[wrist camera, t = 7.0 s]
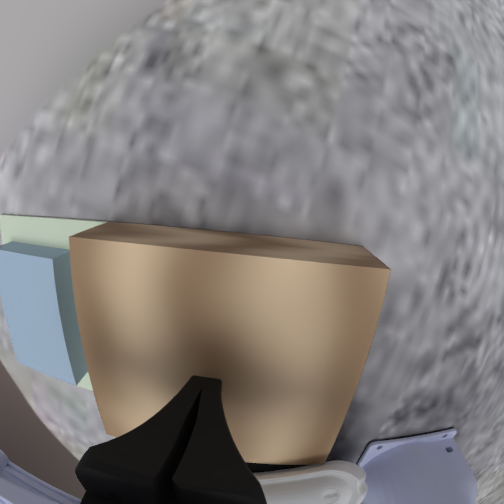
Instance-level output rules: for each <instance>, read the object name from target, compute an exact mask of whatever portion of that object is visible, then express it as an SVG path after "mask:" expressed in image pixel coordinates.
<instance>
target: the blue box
mask: <svg viewBox="0 0 504 504" xmlns="http://www.w3.org/2000/svg"><path fill="white" fill-rule="evenodd" d="M0 296H1V301H2V306H3V310H4V314H5V318H6V322H7V326H8V330H9V334H10V337H11V341H12V344H13V348H14V351H15V354H16V357H17V360H18V362H19V363H21V364H23V365H25V366H28V367H30V368H32V369H34V370H37V371H39V372H42V373H44V374H46V375H49V376H51V377H54V378H56V379H59V380H62V381H64V382H67V383H70V384H73V385H75V386H77V384H78V383H79V382H80V381H81V379H82V378H83V377H84V376H85V374H86V373H87V372H88V369H87V364H86V360H85V356H84V351H83V346H82V341H81V336H80V331H79V325H78V319H77V313H76V306H75V299H74V291H73V283H72V273H71V262H70V250H67V249H60V248H53V247H46V246H39V245H33V244H26V243H20V242H13V241H11V242H8V243H6V244H3V245H0Z"/></svg>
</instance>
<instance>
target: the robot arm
mask: <svg viewBox="0 0 504 504" xmlns="http://www.w3.org/2000/svg"><path fill="white" fill-rule="evenodd" d="M221 392H222V381H221V380H220V379H216V378H208V377H201V376H195V375H193V376H191V377H190V379H189V380H188V381H187V383H186V384H185V385H184V386H183V388H182V389H181V390H180V391H179V392H178V393H177V394H176V395H175V396H174V397H173V398H172V399H171V400H170V401H169V402H168V403H167V404H166V405H165V406H164V407H163V408H162V409H161V410H160V411H158V412H157V413H156V414H155V415H154V416H152V417H151V418H150V419H148V420H147V421H145V422H144V423H143V424H141V425H139V426H138V427H136V428H134V429H133V430H131V431H129V432H127V433H125V434H123V435H121V436H119V437H117V438H115V439H112V440H110V441H107V442H104V443H101V444H98V445H95V446H92V447H89V449H88V450H87V451H86V452H85V454H84V455H83V456H82V458H81V460H80V462H79V463H78V465H77V467H76V469H75V473H76V475H77V477H78V479H79V481H80V482H81V484H82V485H83V487H84V488H85V490H86V492H85V495H84V497H83V499H82V500H81V499H78V498H76V497H74V496H72V495H69V494H67V493H65V492H63V491H61V490H59V489H57V488H55V487H53V486H51V485H49V484H47V483H46V482H43V481H42V480H40V479H38V478H36V477H34V476H33V475H31V474H29V473H28V472H26V471H24V470H23V469H21V468H20V467H18V466H16V465H15V464H13V463H12V462H10V461H9V460H8V458H7V456H6V455H5V454H4V453H3V451H1V449H0V504H267V502H266V498H265V495H264V492H263V489H262V487H261V484H260V482H259V481H258V480H257V478H256V477H255V476H254V474H253V473H252V472H251V470H250V469H249V467H248V466H247V464H246V463H245V461H244V459H243V458H242V456H241V454H240V452H239V451H238V449H237V447H236V445H235V442H234V440H233V438H232V435H231V433H230V430H229V427H228V424H227V421H226V418H225V414H224V410H223V405H222V398H221ZM456 433H457V430H456V429H455V428H453V429H449V430H444V431H440V432H435V433H430V434H425V435H419V436H413V437H407V438H400V439H393V440H385V441H376V442H372V443H370V444H369V445H368V446H367V448H366V450H365V452H364V454H363V455H362V457H361V459H360V460H359V462H358V464H357V465H358V466H360V467H361V468H362V469H363V470H364V471H365V473H366V479H365V482H366V484H367V485H368V490H367V493H366V496H365V497H364V499H363V504H474V502H475V500H476V495H477V484H476V480H475V477H474V475H473V473H472V471H471V469H470V467H469V465H468V463H467V461H466V460H465V458H464V456H463V454H462V452H461V450H460V449H459V447H458V445H457V443H456V442H455V440H454V438H453V437H454V436H455V434H456Z"/></svg>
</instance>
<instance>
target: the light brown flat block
mask: <svg viewBox="0 0 504 504" xmlns="http://www.w3.org/2000/svg"><path fill="white" fill-rule="evenodd" d="M69 249H70V262H71V273H72V283H73V291H74V299H75V306H76V313H77V319H78V325H79V331H80V336H81V341H82V346H83V351H84V356H85V360H86V364H87V369H88V373H89V377H90V381H91V385H92V388H93V392H94V395H95V399H96V402H97V406H98V409H99V412H100V415H101V419H102V422H103V425H104V428H105V431H106V433H107V434H108V435H112V436H115V437H119V436H121V435H123V434H125V433H127V432H129V431H131V430H133V429H134V428H136V427H138V426H139V425H141V424H143V423H144V422H145V421H147V420H148V419H150V418H151V417H152V416H154V415H155V414H156V413H157V412H158V411H160V410H161V409H162V408H163V407H164V406H165V405H166V404H167V403H168V402H169V401H170V400H171V399H172V398H173V397H174V396H175V395H176V394H177V393H178V392H179V391H180V390H181V389H182V388H183V386H184V385H185V384H186V383H187V381H188V380H189V379H190V377H191V376H193V375H195V376H201V377H208V378H216V379H220V380H221V381H222V392H221V398H222V405H223V410H224V414H225V418H226V421H227V424H228V427H229V430H230V433H231V435H232V438H233V440H234V442H235V445H236V447H237V449H238V451H239V452H240V454H241V456H242V458H243V459H244V461H245V462H249V463H263V464H286V465H316V464H325V462H326V459H327V457H328V455H329V453H330V451H331V449H332V447H333V444H334V442H335V440H336V438H337V435H338V433H339V431H340V429H341V426H342V424H343V421H344V419H345V417H346V414H347V412H348V409H349V407H350V404H351V402H352V399H353V396H354V394H355V391H356V388H357V386H358V383H359V380H360V377H361V374H362V371H363V368H364V365H365V362H366V359H367V356H368V353H369V350H370V347H371V344H372V340H373V337H374V334H375V330H376V327H377V323H378V320H379V316H380V312H381V309H382V305H383V301H384V297H385V293H386V289H387V285H388V280H389V276H390V271H391V269H390V268H389V267H387V266H386V265H385V264H384V263H383V262H381V261H380V260H379V259H378V258H377V257H375V256H374V255H373V254H372V253H370V252H369V251H368V250H367V249H365V248H364V247H363V246H356V245H348V244H339V243H330V242H321V241H312V240H302V239H293V238H283V237H274V236H264V235H254V234H244V233H234V232H223V231H213V230H202V229H191V228H180V227H169V226H157V225H145V224H133V223H121V222H106V223H103V224H101V225H98V226H95V227H93V228H90V229H87V230H85V231H82V232H79V233H77V234H74V235H72V236H69Z"/></svg>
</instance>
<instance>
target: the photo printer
mask: <svg viewBox="0 0 504 504" xmlns="http://www.w3.org/2000/svg"><path fill="white" fill-rule="evenodd" d="M253 474H254V476H255V477H256V478H257V480H258V481H259V482H260V484H261V487H262V489H263V492H264V495H265V498H266V502H267V504H360V503H361V502H362V501H363V499H364V497H365V496H366V493H367V490H368V485H367V484H366V482H365V479H366V473H365V471H364V470H363V469H362V468H361V467H360V466H358V465H356V464H354V463H352V462H349V461H342V460H334V461H328V462H325V464H316V465H308V466H303V467H297V468H291V469H284V470H277V471H269V472H259V473H253Z"/></svg>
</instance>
